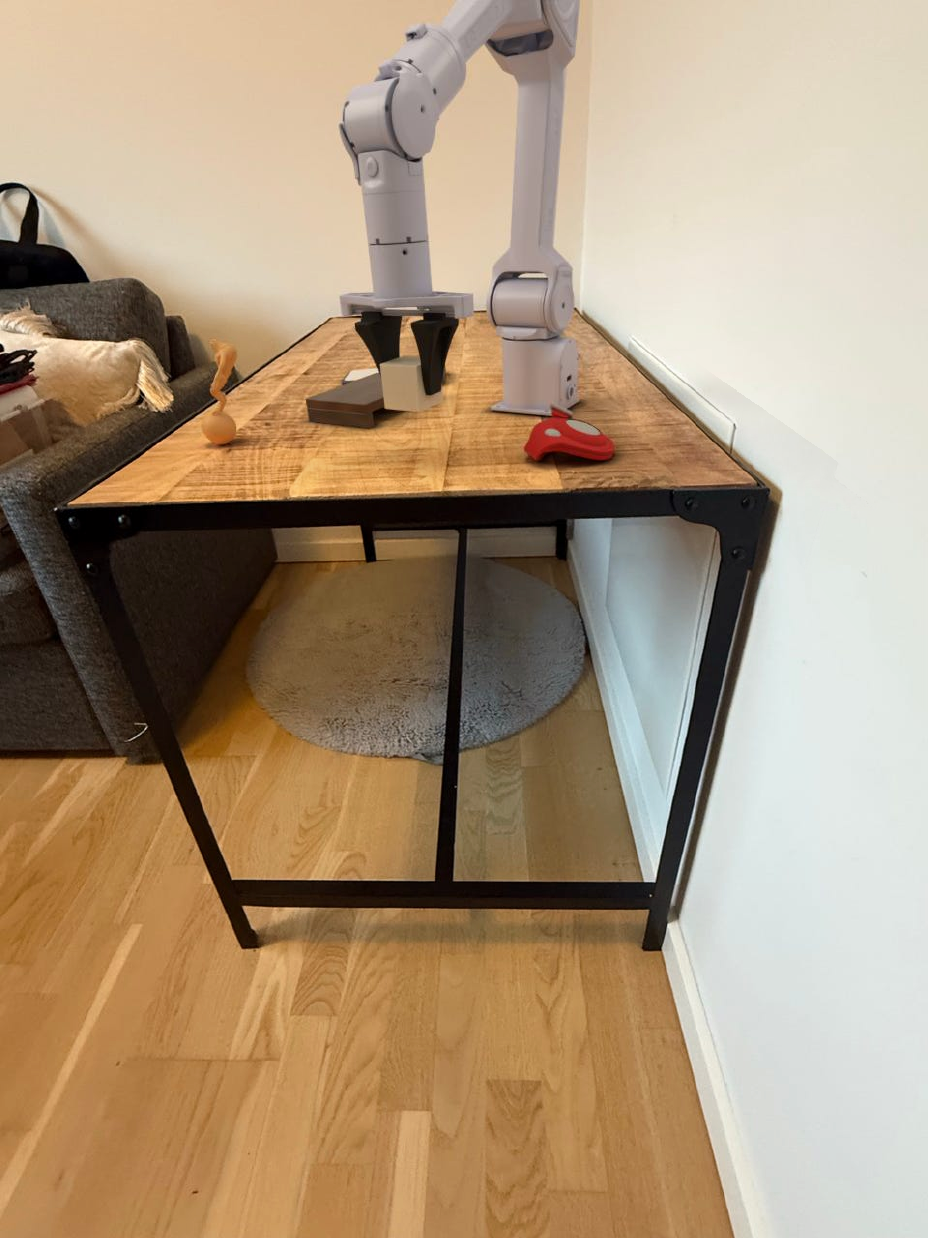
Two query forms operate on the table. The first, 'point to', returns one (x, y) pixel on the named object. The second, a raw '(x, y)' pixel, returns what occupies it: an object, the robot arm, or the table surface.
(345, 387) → the shelf
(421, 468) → the table surface
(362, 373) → the phone case
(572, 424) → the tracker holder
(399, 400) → the block
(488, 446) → the table surface
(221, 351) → the figurine
